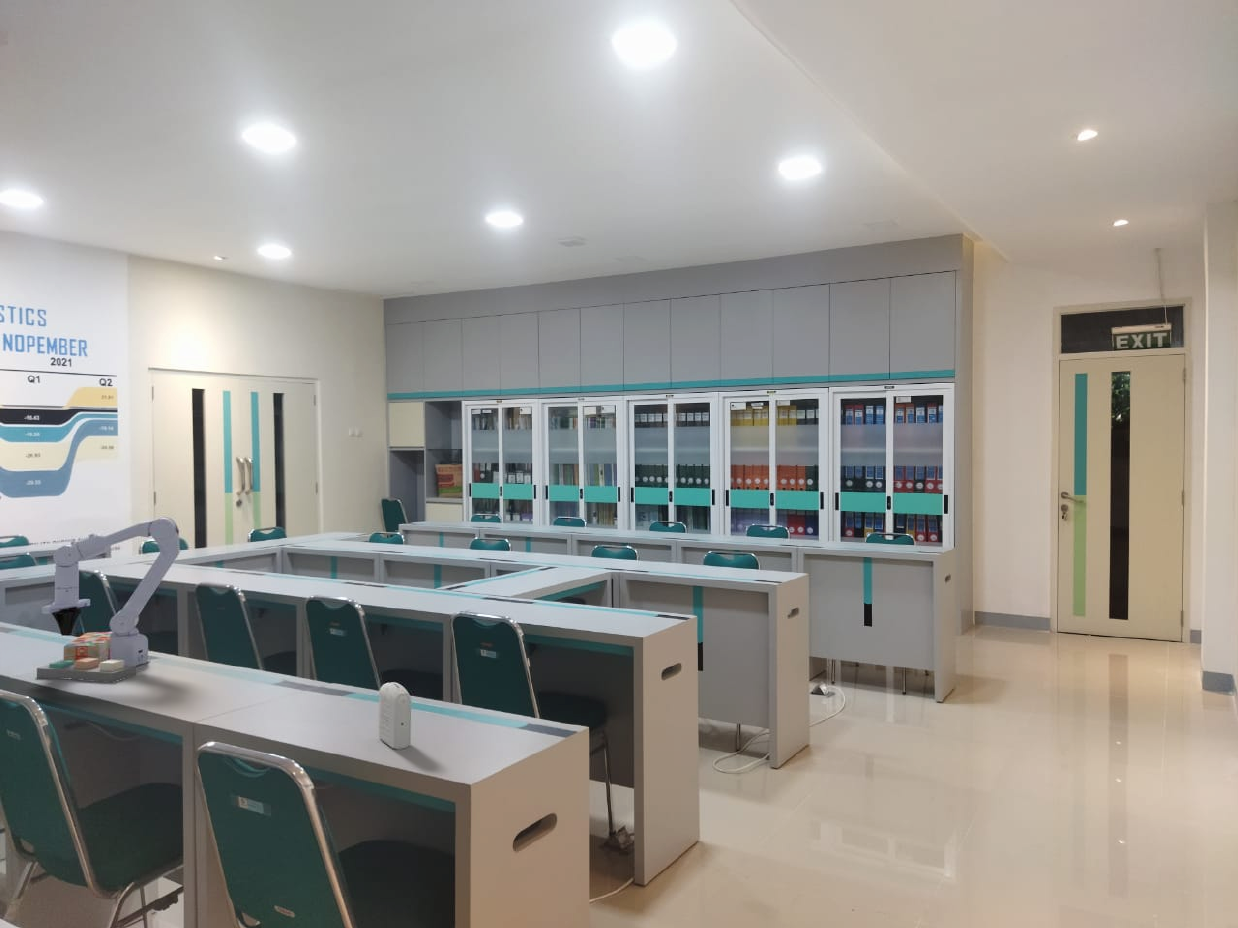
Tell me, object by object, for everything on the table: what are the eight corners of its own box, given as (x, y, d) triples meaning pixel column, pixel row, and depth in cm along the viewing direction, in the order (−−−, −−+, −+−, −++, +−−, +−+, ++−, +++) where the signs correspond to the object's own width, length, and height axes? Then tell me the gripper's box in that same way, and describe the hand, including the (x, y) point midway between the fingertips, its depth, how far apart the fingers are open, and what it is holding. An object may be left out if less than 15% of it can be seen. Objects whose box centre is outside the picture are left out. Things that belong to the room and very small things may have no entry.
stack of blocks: (62, 668, 240) (111, 665, 243) (62, 646, 240) (111, 643, 243) (87, 652, 260) (131, 650, 264) (87, 632, 260) (131, 630, 264)
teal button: (73, 673, 234) (74, 660, 234) (61, 676, 230) (61, 664, 230) (61, 672, 235) (61, 660, 235) (49, 676, 231) (49, 663, 231)
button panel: (135, 675, 232) (135, 666, 232) (113, 682, 225) (113, 672, 225) (61, 670, 237) (61, 661, 237) (36, 677, 229) (36, 668, 229)
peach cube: (98, 671, 232) (98, 658, 232) (87, 674, 228) (87, 661, 228) (86, 670, 233) (86, 657, 233) (74, 673, 229) (74, 660, 229)
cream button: (123, 672, 231) (124, 659, 231) (112, 676, 227) (112, 663, 227) (111, 671, 232) (111, 659, 232) (99, 675, 228) (99, 662, 228)
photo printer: (413, 747, 175) (414, 687, 175) (393, 751, 172) (393, 690, 172) (395, 734, 183) (396, 677, 183) (376, 737, 180) (376, 679, 181)
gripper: (75, 583, 248) (75, 629, 248) (32, 590, 233) (32, 639, 233) (96, 584, 246) (95, 630, 246) (54, 591, 232) (53, 640, 232)
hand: (66, 635), depth 240 cm, fingers closed
